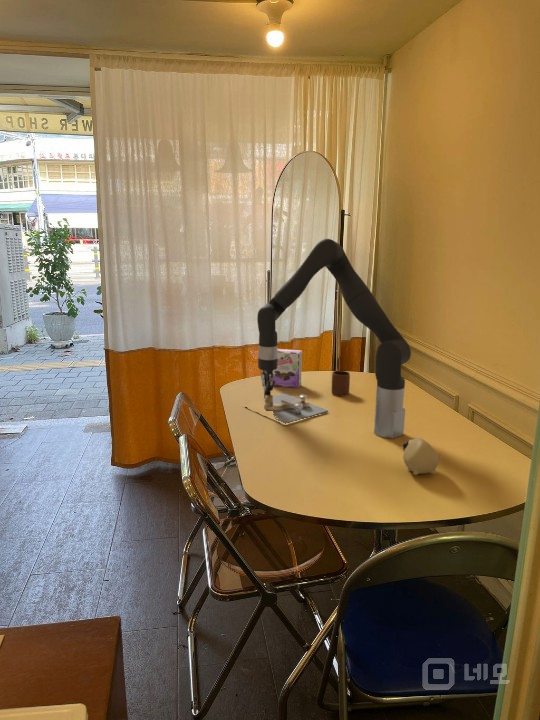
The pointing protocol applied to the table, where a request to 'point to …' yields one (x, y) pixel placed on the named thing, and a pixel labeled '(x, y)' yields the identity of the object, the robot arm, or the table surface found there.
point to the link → (270, 406)
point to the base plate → (289, 414)
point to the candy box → (288, 368)
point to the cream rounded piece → (420, 456)
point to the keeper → (295, 404)
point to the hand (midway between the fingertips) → (267, 399)
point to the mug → (340, 383)
